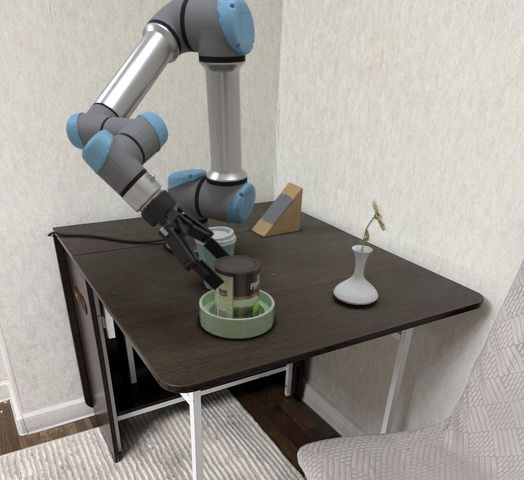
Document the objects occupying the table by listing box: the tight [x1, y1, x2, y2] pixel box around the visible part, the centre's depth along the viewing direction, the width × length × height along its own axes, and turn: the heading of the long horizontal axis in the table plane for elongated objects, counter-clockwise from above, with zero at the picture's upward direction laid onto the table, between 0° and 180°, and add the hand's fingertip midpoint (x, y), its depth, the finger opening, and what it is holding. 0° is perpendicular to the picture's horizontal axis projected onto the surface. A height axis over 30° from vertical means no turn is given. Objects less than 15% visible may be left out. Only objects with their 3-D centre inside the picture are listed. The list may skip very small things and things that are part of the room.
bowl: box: [198, 289, 276, 339], centre depth 111 cm, size 17×17×5 cm
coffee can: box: [214, 254, 262, 319], centre depth 109 cm, size 10×10×14 cm
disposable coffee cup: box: [195, 226, 237, 291], centre depth 125 cm, size 11×11×15 cm
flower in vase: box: [333, 199, 387, 306], centre depth 118 cm, size 13×11×25 cm
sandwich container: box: [251, 181, 304, 238], centre depth 166 cm, size 9×15×15 cm, turn 122°
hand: (224, 273), depth 106 cm, fingers open, 13 cm apart
